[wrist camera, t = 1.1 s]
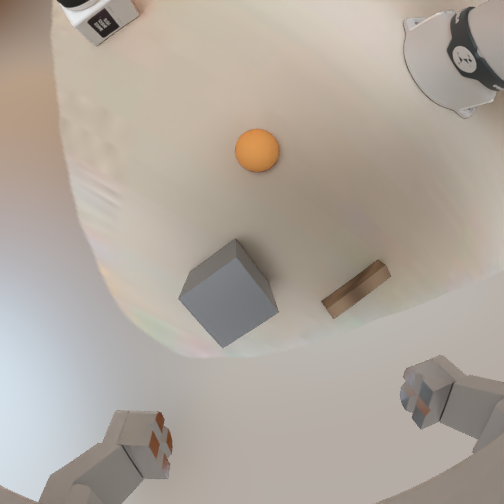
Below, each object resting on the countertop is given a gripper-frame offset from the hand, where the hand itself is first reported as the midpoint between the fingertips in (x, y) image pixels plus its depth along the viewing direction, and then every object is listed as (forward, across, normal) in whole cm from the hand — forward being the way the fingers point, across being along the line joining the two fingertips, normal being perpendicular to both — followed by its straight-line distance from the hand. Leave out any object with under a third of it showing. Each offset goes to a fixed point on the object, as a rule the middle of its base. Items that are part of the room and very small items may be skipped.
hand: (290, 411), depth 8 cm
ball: (+27, -3, -11) cm, 29 cm away
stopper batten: (+30, -15, +8) cm, 34 cm away
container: (+30, +16, -36) cm, 49 cm away
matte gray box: (+30, +2, +5) cm, 30 cm away
